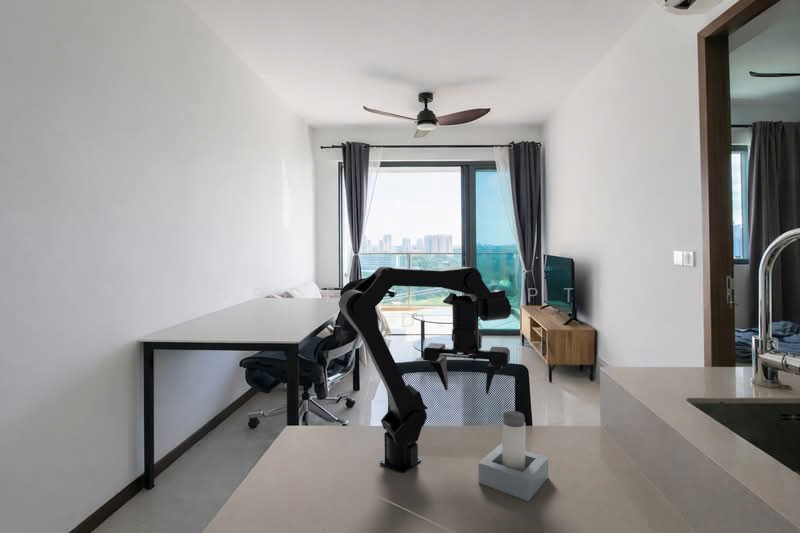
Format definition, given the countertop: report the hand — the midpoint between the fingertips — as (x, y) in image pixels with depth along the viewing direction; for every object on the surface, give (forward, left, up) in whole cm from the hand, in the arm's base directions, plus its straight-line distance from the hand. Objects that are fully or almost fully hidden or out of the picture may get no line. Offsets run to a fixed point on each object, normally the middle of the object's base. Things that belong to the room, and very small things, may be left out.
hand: (466, 391), depth 97 cm
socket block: (+14, -6, -13) cm, 20 cm away
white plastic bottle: (+14, -6, -13) cm, 20 cm away
